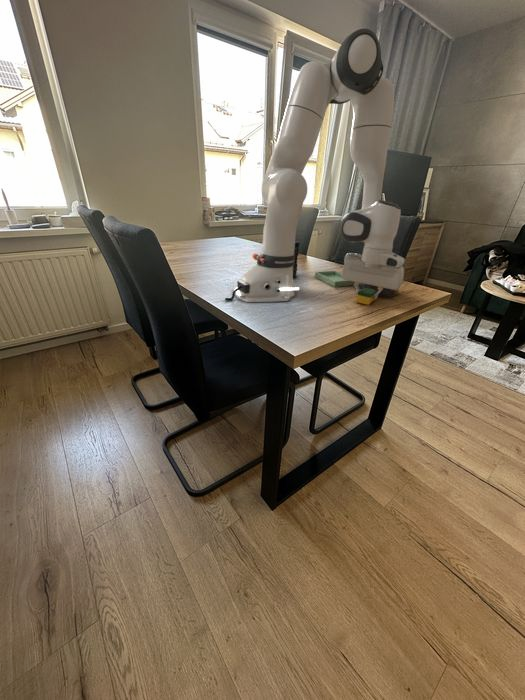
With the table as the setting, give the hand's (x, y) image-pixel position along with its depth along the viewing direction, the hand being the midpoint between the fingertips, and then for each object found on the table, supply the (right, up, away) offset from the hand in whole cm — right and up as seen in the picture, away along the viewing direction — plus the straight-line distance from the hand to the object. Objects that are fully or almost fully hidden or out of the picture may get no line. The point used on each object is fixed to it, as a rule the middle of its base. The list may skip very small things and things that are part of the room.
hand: (366, 296), depth 100 cm
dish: (-6, +11, +22) cm, 26 cm away
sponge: (0, -1, +1) cm, 2 cm away
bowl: (+8, +4, +12) cm, 15 cm away
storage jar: (-27, +14, +26) cm, 40 cm away
